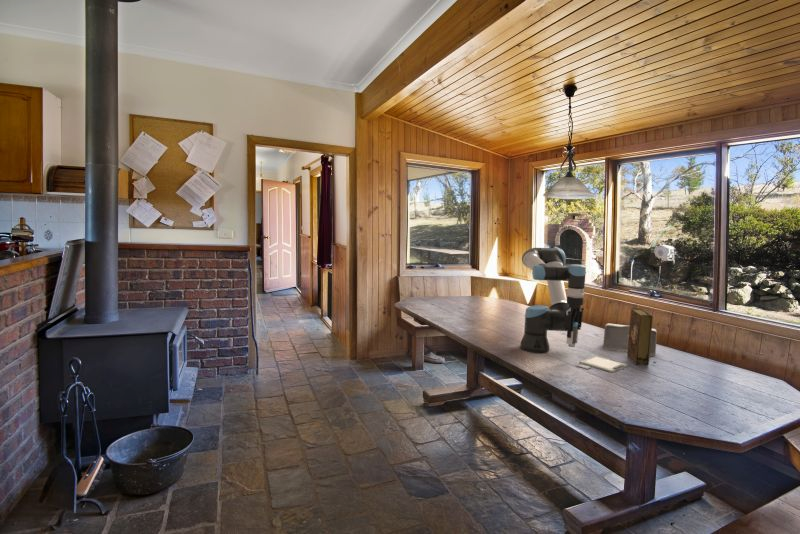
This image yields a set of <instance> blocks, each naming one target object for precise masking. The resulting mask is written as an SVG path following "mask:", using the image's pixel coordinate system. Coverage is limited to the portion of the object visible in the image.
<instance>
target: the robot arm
mask: <svg viewBox="0 0 800 534" xmlns="http://www.w3.org/2000/svg"><path fill="white" fill-rule="evenodd" d="M521 261H522V264H523V265H524V267H525V268H527V269H530V270H531V274H532V279H533V280H536V281H547V287H548V292H549V297H550V304H551V305H550V306H548V305H543V304H535V305H529V306H527V307H526V308H525V313H524V314H525V315H524V332H523V336H522V339H521V341H520V343H519V348H520V349H521V350H522V351H525V352H529V353H535V354H536V353H537V354H544V353H549V352H550V343H549V340H548V331H553V332H554V331H555V332H566V344H567V345H568V344H571V345H572V341H573V331H572V329H573V324H574V322H577V323H578V327H577V340H576V343H575V344H577V343H578V340H579V338H578V337H579V336H578V335H579V331H580V330H581V329H582V324H583V323H582V322H583V314H584V311H585V309H584V308H583V307H581V306H583V305H584V300H585V299H584V295H585V282H586V274H587V271H586V269H587V268H586V266H585V265H584V264H577V263H576V264H575V263H573V264H570V265H567V264H566V254H565V252H564V250H563V249H562V248H556V247H553V248H550V247H532V248H530V249H529V248H528V249H527V250H526V251H525V252H523V254H522V257H521ZM564 282H567V290H566V286H565V283H564ZM566 291H567V292H566Z"/></svg>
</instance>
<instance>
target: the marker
mask: <svg viewBox="0 0 800 534" xmlns="http://www.w3.org/2000/svg"><path fill="white" fill-rule="evenodd" d="M577 327H578V323H577V322H574V324H573V329H572V331H573V341H572V345H571V344H567V345H568V347H570V348H575V347H576V344H577V343H576V340H577ZM577 341H578V340H577Z"/></svg>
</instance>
